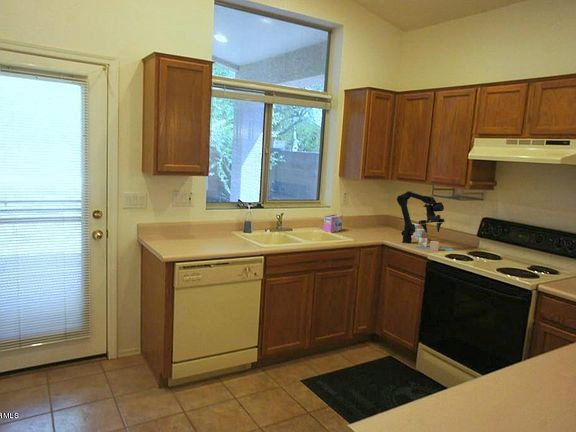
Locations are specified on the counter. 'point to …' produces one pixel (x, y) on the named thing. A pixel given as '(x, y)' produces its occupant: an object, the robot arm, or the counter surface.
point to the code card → (424, 247)
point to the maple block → (422, 242)
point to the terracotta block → (434, 245)
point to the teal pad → (447, 248)
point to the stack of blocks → (419, 232)
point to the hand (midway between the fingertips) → (432, 232)
